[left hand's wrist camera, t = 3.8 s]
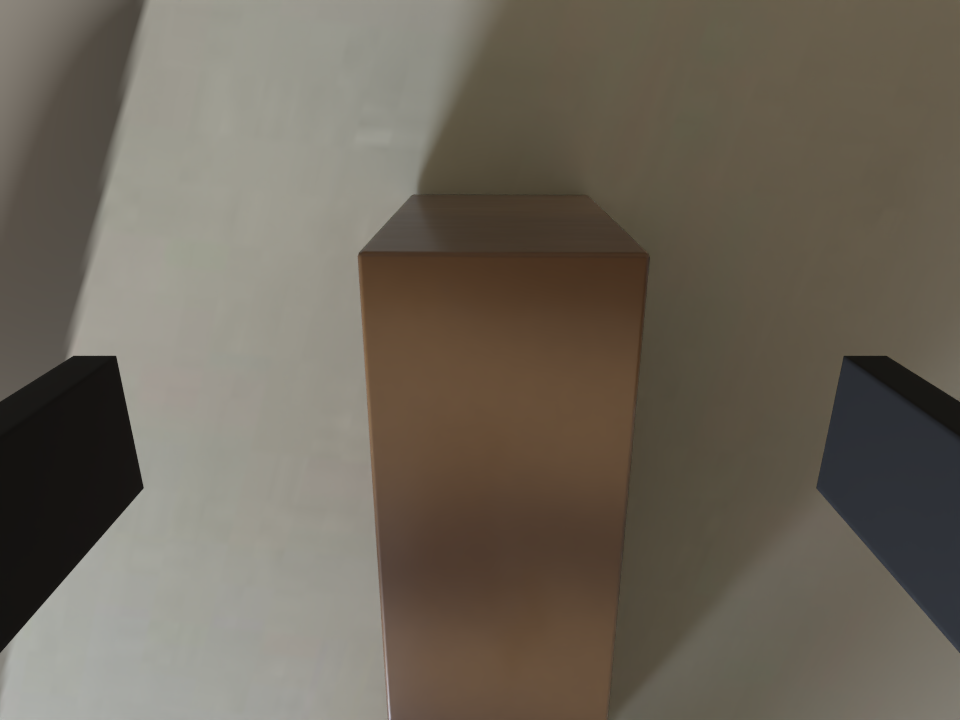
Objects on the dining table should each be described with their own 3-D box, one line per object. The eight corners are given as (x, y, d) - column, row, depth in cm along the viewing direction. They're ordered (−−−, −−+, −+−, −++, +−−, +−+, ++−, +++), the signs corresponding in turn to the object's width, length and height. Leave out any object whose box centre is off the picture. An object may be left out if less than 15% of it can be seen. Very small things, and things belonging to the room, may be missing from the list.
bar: (410, 194, 19) (356, 252, 12) (589, 194, 19) (651, 253, 12) (431, 780, 28) (407, 1036, 20) (555, 782, 28) (579, 1040, 20)
